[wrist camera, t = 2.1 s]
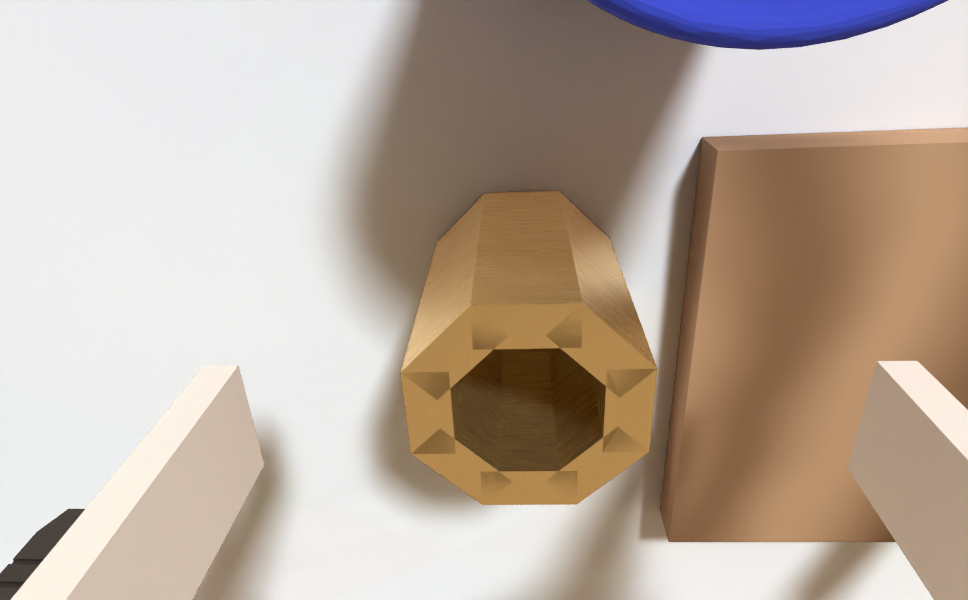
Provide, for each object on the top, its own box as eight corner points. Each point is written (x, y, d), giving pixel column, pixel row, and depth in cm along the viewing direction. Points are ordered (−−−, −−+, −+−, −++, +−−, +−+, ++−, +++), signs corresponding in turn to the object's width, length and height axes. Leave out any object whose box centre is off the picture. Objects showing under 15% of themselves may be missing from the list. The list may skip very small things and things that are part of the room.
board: (660, 510, 24) (668, 542, 22) (702, 137, 17) (718, 150, 16) (1106, 508, 23) (1142, 541, 22) (1324, 114, 16) (1395, 127, 15)
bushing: (445, 346, 21) (417, 505, 15) (432, 194, 18) (392, 307, 12) (604, 343, 21) (644, 504, 14) (611, 188, 18) (663, 301, 12)
